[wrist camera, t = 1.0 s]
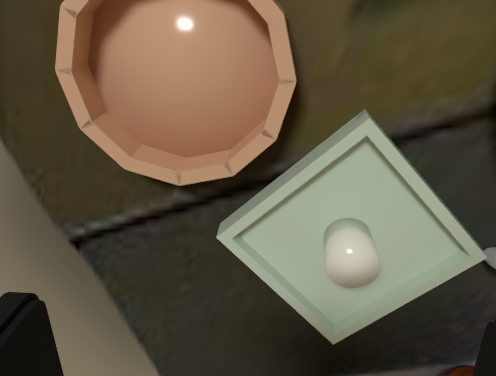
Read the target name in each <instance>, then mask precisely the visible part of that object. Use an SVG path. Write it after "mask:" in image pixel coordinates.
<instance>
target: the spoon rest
mask: <svg viewBox="0 0 496 376" xmlns="http://www.w3.org/2000/svg"><path fill="white" fill-rule="evenodd" d="M483 252H484V253H485V255H486V256H487V258H486V259H484V260H485V261H486V262H487V263H488V264H489V265H491V266H492V267H493V268H495V269H496V247H491V248H487V249H485V250H484V251H483Z"/></svg>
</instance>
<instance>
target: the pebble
mask: <svg viewBox="0 0 496 376" xmlns="http://www.w3.org/2000/svg"><path fill="white" fill-rule="evenodd" d="M323 243H324V252H325V260H326V269H327V273H328V276H329V277H330V279H331V280H332V281H333V282H335V283H336V284H338V285H340V286H343V287H347V288H357V287H362V286H365V285H367V284H369V283H370V282H372V281H373V280H374V279H375V278H376V276H377V275H378V273H379V270H380V261H379V258H378V255H377V251H376V248H375V245H374V241H373V238H372V235H371V232H370V229H369V228H368V226H367V225H366V224H365V223H364V222H362V221H360V220H358V219H355V218H342V219H338V220H336V221H334V222H332V223H331V224H330V225H329V226H328V227H327V228H326V230H325V232H324V235H323Z"/></svg>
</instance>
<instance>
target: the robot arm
mask: <svg viewBox="0 0 496 376" xmlns="http://www.w3.org/2000/svg"><path fill="white" fill-rule="evenodd" d="M0 376H64V375H63V371H62V367H61V363H60V359H59V356H58V351H57V348H56V344H55V340H54V336H53V332H52V328H51V324H50V320H49V316H48V313H47V308H46V305H45V303H44V302H43V301H40V300H39V298H38V296H37V295H36V294H33V293H17V292H8V293H5V294H4V295H2V296H1V297H0ZM472 376H496V320H495V322H489V323H488V324H487V327H486V330H485V333H484V337H483V340H482V343H481V347H480V350H479V354H478V357H477V361H476V364H475V368H474V371H473V374H472Z"/></svg>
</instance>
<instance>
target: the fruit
mask: <svg viewBox="0 0 496 376" xmlns="http://www.w3.org/2000/svg"><path fill="white" fill-rule="evenodd" d="M474 368H475V367H472V366H462V367H458V368H455V369H453V370H451V371H450V372H448V373H447V374H445V375H444V376H472V374H473V371H474Z"/></svg>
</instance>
